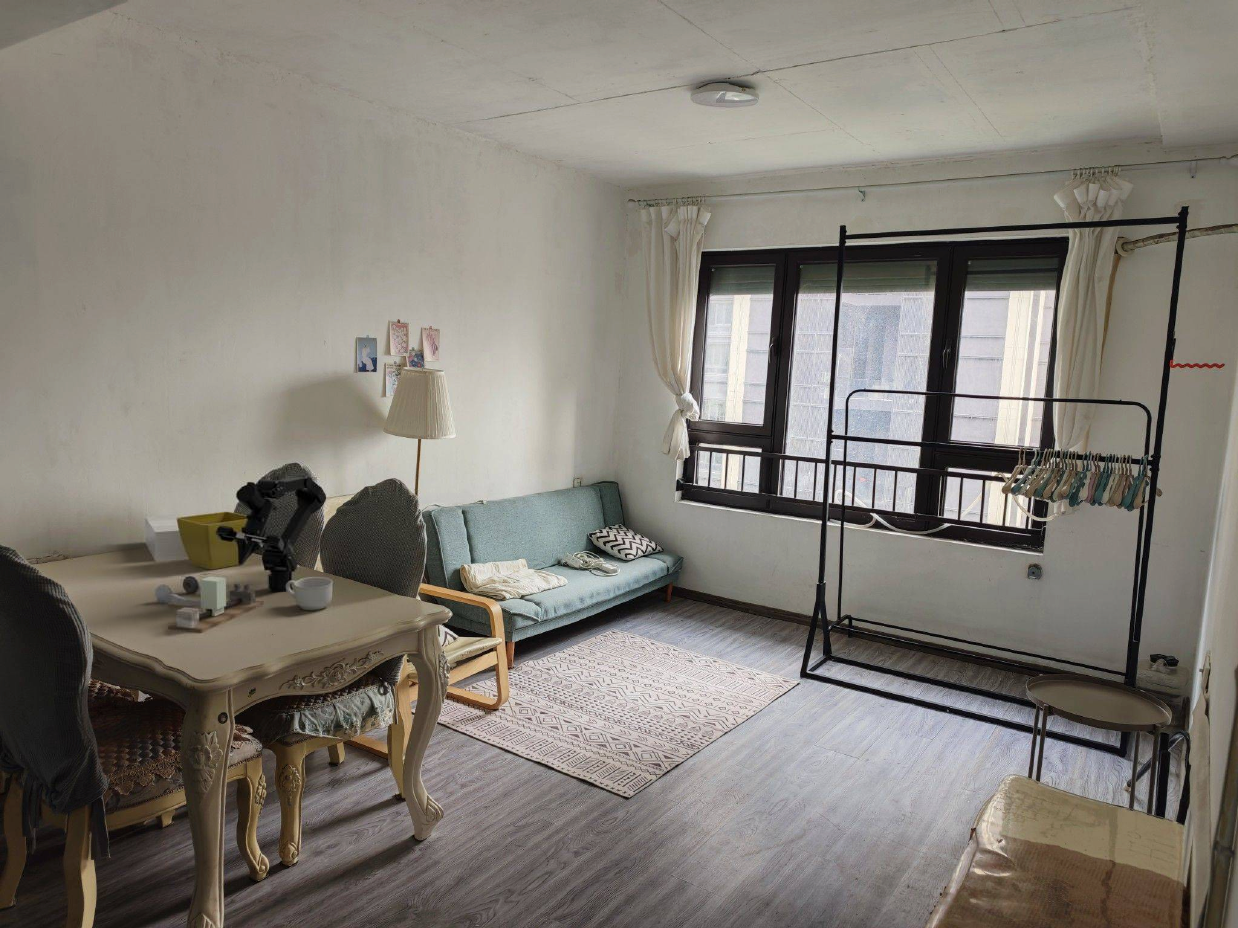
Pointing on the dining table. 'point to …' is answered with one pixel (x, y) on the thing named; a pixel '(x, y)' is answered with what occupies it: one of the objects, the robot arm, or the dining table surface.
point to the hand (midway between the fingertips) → (240, 564)
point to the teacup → (311, 592)
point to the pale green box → (213, 595)
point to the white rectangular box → (164, 538)
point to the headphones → (165, 595)
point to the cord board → (234, 607)
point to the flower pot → (210, 539)
